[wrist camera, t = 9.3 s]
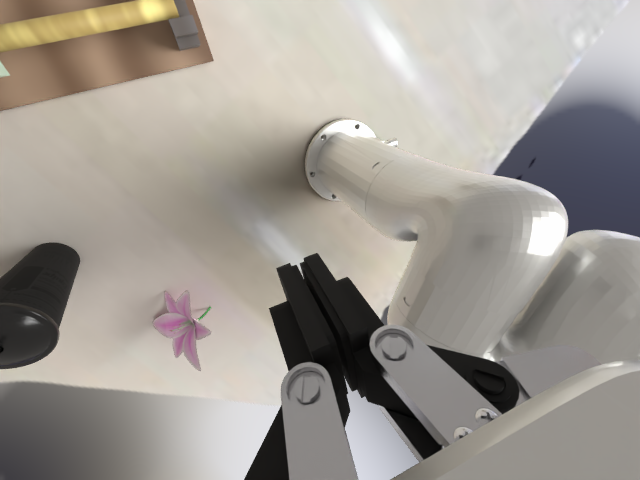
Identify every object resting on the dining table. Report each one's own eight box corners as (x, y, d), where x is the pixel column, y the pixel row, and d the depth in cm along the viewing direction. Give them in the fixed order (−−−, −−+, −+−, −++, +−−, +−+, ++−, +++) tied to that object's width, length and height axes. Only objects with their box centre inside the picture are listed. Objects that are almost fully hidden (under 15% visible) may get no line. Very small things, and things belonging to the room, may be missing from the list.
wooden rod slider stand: (175, -47, 28) (173, -83, 21) (212, 61, 33) (220, 59, 26) (-164, 4, 22) (-315, -23, 16) (-56, 123, 27) (-134, 142, 21)
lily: (198, 260, 45) (160, 297, 37) (250, 309, 48) (227, 354, 40) (156, 296, 50) (114, 336, 41) (207, 339, 53) (177, 385, 44)
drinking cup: (-4, 255, 34) (-168, 420, 18) (53, 221, 35) (-56, 351, 19) (57, 293, 39) (-31, 450, 23) (107, 261, 39) (56, 393, 23)
